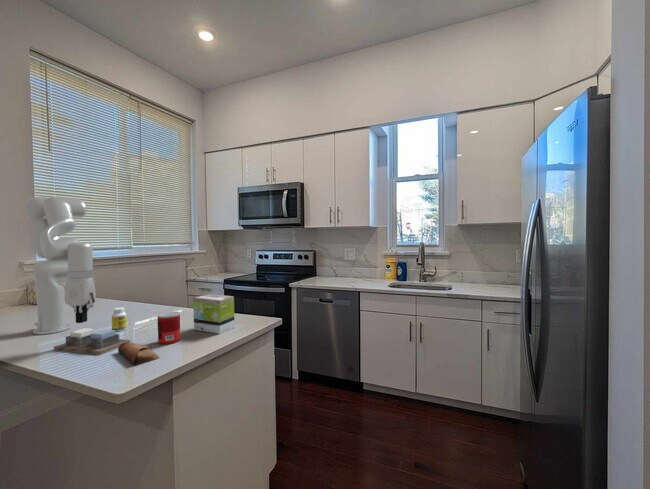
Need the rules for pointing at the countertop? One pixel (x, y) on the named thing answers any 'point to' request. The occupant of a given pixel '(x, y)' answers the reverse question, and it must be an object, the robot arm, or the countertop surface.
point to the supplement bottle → (119, 319)
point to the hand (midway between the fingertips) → (81, 322)
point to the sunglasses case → (137, 353)
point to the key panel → (91, 344)
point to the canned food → (168, 328)
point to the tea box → (213, 313)
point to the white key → (82, 332)
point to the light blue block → (102, 334)
